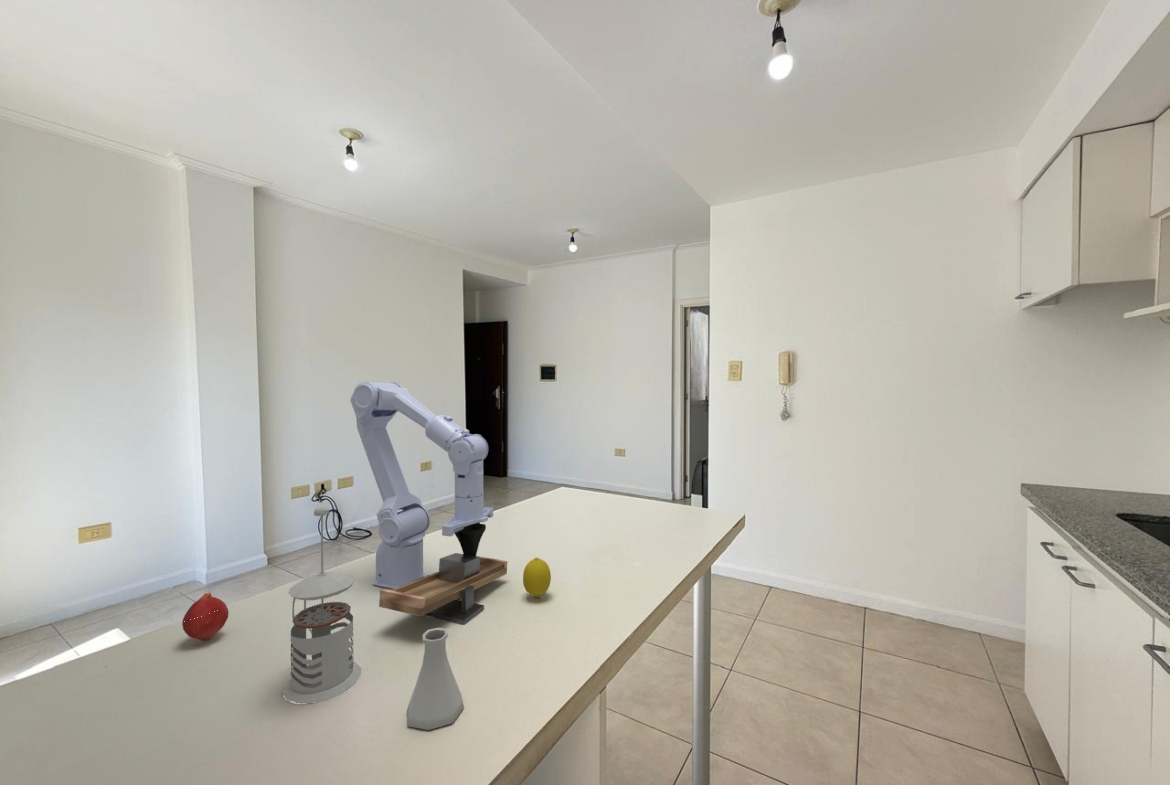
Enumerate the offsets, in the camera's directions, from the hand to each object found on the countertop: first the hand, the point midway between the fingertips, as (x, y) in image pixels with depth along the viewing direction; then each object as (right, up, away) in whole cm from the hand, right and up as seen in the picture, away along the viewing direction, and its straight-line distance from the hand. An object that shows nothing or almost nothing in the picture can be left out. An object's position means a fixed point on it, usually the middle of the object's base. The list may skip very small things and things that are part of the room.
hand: (469, 560), depth 92 cm
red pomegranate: (-40, -7, -17) cm, 44 cm away
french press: (-15, -7, -28) cm, 32 cm away
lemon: (+14, -7, -3) cm, 16 cm away
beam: (-2, -4, -6) cm, 7 cm away
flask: (+4, -7, -34) cm, 35 cm away
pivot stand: (-3, -7, -7) cm, 10 cm away
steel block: (-1, -2, -3) cm, 4 cm away
